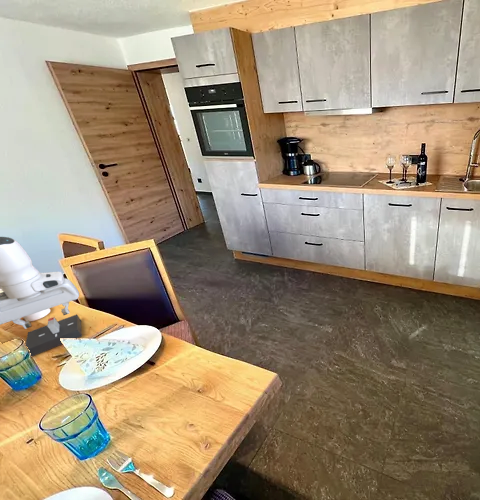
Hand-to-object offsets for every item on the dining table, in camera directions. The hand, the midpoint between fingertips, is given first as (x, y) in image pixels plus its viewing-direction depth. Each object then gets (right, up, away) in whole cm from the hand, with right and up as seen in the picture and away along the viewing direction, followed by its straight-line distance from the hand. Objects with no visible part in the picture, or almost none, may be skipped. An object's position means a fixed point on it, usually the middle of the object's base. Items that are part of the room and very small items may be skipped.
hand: (48, 320), depth 96 cm
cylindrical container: (-19, -2, +15) cm, 24 cm away
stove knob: (+1, -4, +2) cm, 4 cm away
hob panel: (0, -7, +3) cm, 7 cm away
